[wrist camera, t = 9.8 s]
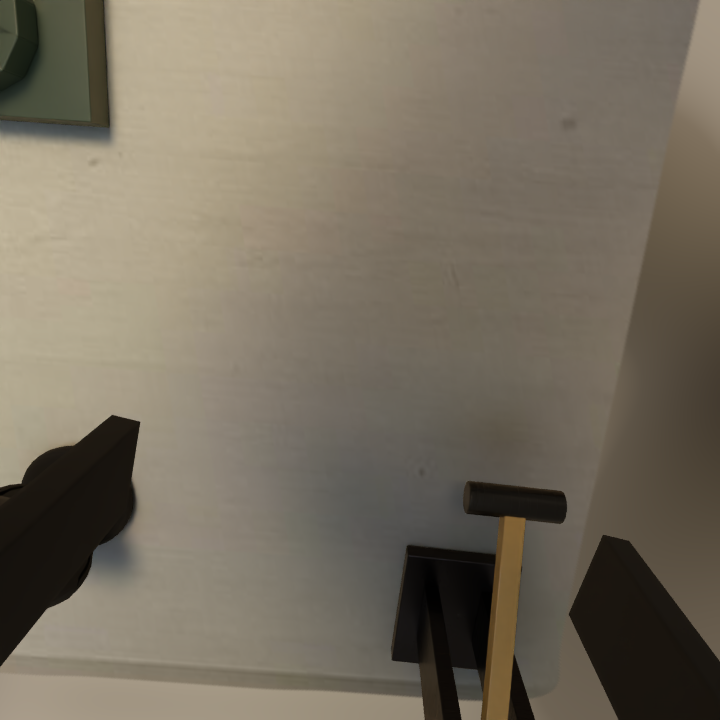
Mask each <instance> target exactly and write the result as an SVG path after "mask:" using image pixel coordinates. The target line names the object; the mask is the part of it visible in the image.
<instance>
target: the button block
mask: <svg viewBox="0 0 720 720" xmlns="http://www.w3.org/2000/svg"><path fill="white" fill-rule="evenodd" d="M0 120H11V121H25V122H38V123H52V124H66V125H79V126H93V127H107V128H108V127H109V120H108V99H107V77H106V56H105V35H104V14H103V0H0Z"/></svg>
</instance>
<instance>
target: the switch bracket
mask: <svg viewBox="0 0 720 720" xmlns="http://www.w3.org/2000/svg"><path fill="white" fill-rule="evenodd" d="M495 561H496V555H491V554H481V553H472V552H463V551H454V550H444V549H435V548H426V547H417V546H407V548H406V554H405V561H404V567H403V574H402V581H401V587H400V594H399V601H398V607H397V614H396V620H395V627H394V634H393V640H392V647H391V654H392V661H400V662H410V663H419V667H420V677H421V687H422V697H423V706H424V715H425V720H461V714H460V708H459V702H458V697H457V691H456V685H455V679H454V673H453V668H452V667H457V668H466V669H475V670H478V673H479V678H480V682H481V687H482V691H483V692H484V681H485V670H486V659H487V648H488V637H489V627H490V616H491V605H492V594H493V583H494V572H495ZM521 571H522V566H521ZM508 720H535V719H534V715H533V712H532V709H531V706H530V703H529V699H528V696H527V693H526V690H525V687H524V683H523V680H522V677H521V674H520V671H519V668H518V665H517V661H516V658H515V655H514V656H513V667H512V678H511V689H510V701H509V712H508Z"/></svg>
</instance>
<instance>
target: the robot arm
mask: <svg viewBox="0 0 720 720" xmlns="http://www.w3.org/2000/svg"><path fill="white" fill-rule="evenodd" d="M139 427H140V422H139V421H135V420H131V419H127V418H122V417H118V416H114V415H112V416H110V417H109V418H108V419H107V420H105V421H104V422H103V423H102V424H100V425H99V426H98V427H97V428H96V429H94V430H93V431H92V432H91V433H89V434H88V435H87V436H86V437H84V438H83V439H82V440H81V441H80V442H78V443H77V444H76V445H75V446H73V447H72V448H71V449H70V450H69V451H67V452H66V453H65V454H64V455H62V456H61V457H60V458H59V459H57V460H56V461H55V462H54V463H53V464H51V465H50V466H49V467H48V468H46V469H45V470H44V471H43V472H41V473H40V474H39V475H38V476H37V477H35V478H34V479H33V480H32V481H30V482H29V483H28V484H27V485H26V486H24V487H23V488H22V489H21V490H19V491H18V492H17V493H16V494H14V495H13V496H12V497H11V498H8V497H4V496H0V666H1V665H2V664H3V663H4V661H5V660H6V659H7V658H8V657H9V655H10V654H11V653H12V652H13V650H14V649H15V648H16V647H17V645H18V644H19V643H20V642H21V640H22V639H23V638H24V637H25V635H26V634H27V633H28V632H29V630H30V629H31V628H32V627H33V625H34V624H35V623H36V622H37V620H38V619H39V618H40V617H41V615H42V614H43V613H44V612H45V610H46V609H47V608H48V607H49V605H50V604H51V603H52V602H53V601H54V599H55V598H56V597H57V596H58V594H59V593H60V592H61V591H62V589H63V588H64V587H65V586H66V584H67V583H68V582H69V581H70V579H71V578H72V577H73V576H74V574H75V573H76V572H77V571H78V569H79V568H80V567H81V566H82V564H83V563H84V562H85V561H86V559H87V558H88V557H89V556H90V554H91V553H92V552H93V551H94V549H95V548H96V547H97V546H98V545H99V543H100V542H101V541H102V540H103V538H104V537H105V536H106V535H107V533H108V532H109V531H110V530H111V528H112V527H113V526H114V525H115V523H116V522H117V521H118V520H119V518H120V517H121V516H122V515H123V513H124V512H125V511H126V509H127V503H128V496H129V490H130V484H131V477H132V471H133V465H134V458H135V452H136V446H137V439H138V433H139ZM569 616H570V618H571V620H572V622H573V624H574V626H575V629H576V631H577V633H578V635H579V637H580V639H581V641H582V643H583V646H584V648H585V650H586V651H587V654H588V656H589V658H590V660H591V662H592V664H593V667H594V669H595V671H596V673H597V675H598V677H599V679H600V681H601V684H602V686H603V687H604V690H605V692H606V694H607V696H608V698H609V701H610V702H611V704H612V707H613V709H614V711H615V713H616V715H617V717H618V720H720V661H719V660H718V658H717V657H716V656H715V654H714V653H713V652H712V650H711V649H710V648H709V646H708V645H707V644H706V642H705V641H704V640H703V639H702V637H701V636H700V634H699V633H698V632H697V631H696V629H695V628H694V627H693V625H692V624H691V623H690V621H689V620H688V619H687V617H686V616H685V615H684V613H683V612H682V611H681V609H680V608H679V607H678V605H677V604H676V603H675V601H674V600H673V599H672V597H671V596H670V595H669V593H668V592H667V591H666V589H665V588H664V587H663V585H662V584H661V583H660V581H659V580H658V579H657V577H656V576H655V575H654V574H653V572H652V571H651V569H650V568H649V567H648V566H647V564H646V563H645V562H644V560H643V559H642V558H641V556H640V555H639V554H638V552H637V551H636V550H635V548H634V547H633V546H632V544H631V543H630V542H629V541H627V540H623V539H619V538H615V537H610V536H606V535H603V536H602V539H601V541H600V543H599V546H598V548H597V550H596V553H595V555H594V557H593V559H592V562H591V564H590V566H589V569H588V571H587V574H586V576H585V578H584V580H583V582H582V585H581V587H580V589H579V592H578V594H577V596H576V599H575V601H574V603H573V606H572V608H571V610H570V612H569Z"/></svg>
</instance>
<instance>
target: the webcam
mask: <svg viewBox="0 0 720 720" xmlns="http://www.w3.org/2000/svg"><path fill="white" fill-rule="evenodd" d="M72 447H73V446H64V447H59V448H55V449H52V450H49V451H47V452H45V453H44V454H42V455H40V456H39V457H38V458H37V459H36V460H34V461H33V462H32V464H31V465H30V466H29V467H28V469H27V470H26V472H25V475H24V477H23V480H22V484H14V485H8V486H4V487H0V496H4V497H8V498H11V497H12V496H13V495H14V494H16V493H17V492H18V491H19V490H21V489H22V488H23V487H24V486H26V485H27V484H28V483H29V482H30V481H32V480H33V479H34V478H35V477H37V476H38V475H39V474H40V473H41V472H43V471H44V470H45V469H46V468H48V467H49V466H50V465H51V464H53V463H54V462H55V461H56V460H57V459H59V458H60V457H61V456H62V455H64V454H65V453H66V452H67V451H69V450H70V449H71V448H72ZM132 508H133V497H132V490H131V487H130V490H129V496H128V503H127V509H126V511H125V512H124V513H123V515H122V516H121V517H120V518H119V520H118V521H117V522H116V523H115V525H114V526H113V527H112V528H111V530H110V531H109V532H108V533H107V535H106V536H105V537H104V538H103V540H102V541H101V542H100V543H99V545H101V544H103V543H105V542H108V541H109V540H111V539H113V538H114V537H115V536H116V535H118V534H119V533H120V532H121V531H122V530H123V528H124V527H125V525H126V524H127V522H128V520H129V518H130V515H131V512H132ZM92 555H93V552H92V553H91V554H90V556H89V557H88V558H87V559H86V561H85V562H84V563H83V564H82V566H81V567H80V568H79V569H78V571H77V572H76V573H75V574H74V576H73V577H72V578H71V579H70V581H69V582H68V583H67V584H66V586H65V587H64V588H63V589H62V591H61V592H60V593H59V594H58V596H57V597H56V598H55V599H54V601H53V602H52V603H51V604H50V605H49V607H52V606H55V605H57V604H59V603H61V602H63V601H65V600H67V599H69V598H70V597H71V596H72V594H73V593H75V592H76V591H77V589H78V588H79V587H80V586H81V585H82V583H83V582H84V580H85V579H86V577H87V575H88V573H89V570H90V568H91V564H92ZM49 607H48V608H49Z"/></svg>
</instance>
